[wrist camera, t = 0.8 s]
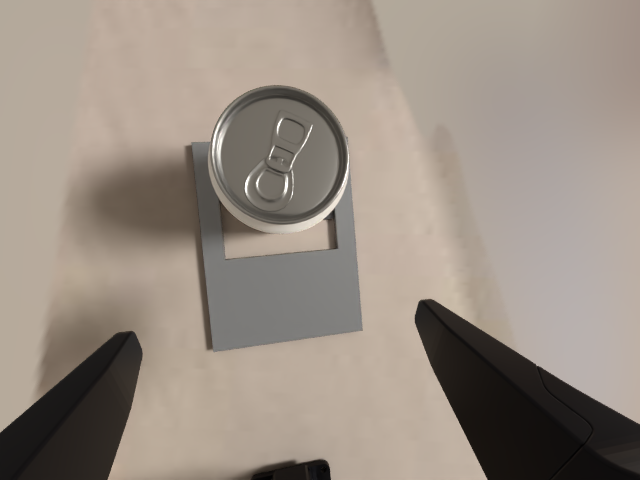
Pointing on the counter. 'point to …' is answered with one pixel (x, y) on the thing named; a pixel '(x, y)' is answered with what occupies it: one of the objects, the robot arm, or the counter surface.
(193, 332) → the counter surface
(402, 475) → the counter surface
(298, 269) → the board
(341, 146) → the can
